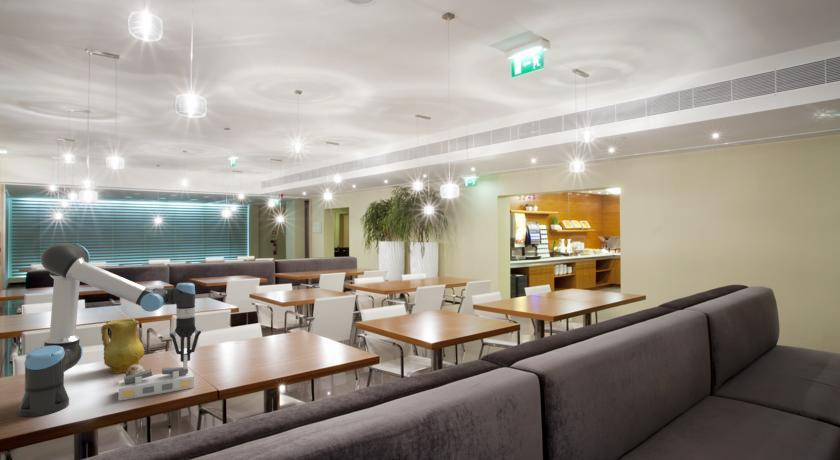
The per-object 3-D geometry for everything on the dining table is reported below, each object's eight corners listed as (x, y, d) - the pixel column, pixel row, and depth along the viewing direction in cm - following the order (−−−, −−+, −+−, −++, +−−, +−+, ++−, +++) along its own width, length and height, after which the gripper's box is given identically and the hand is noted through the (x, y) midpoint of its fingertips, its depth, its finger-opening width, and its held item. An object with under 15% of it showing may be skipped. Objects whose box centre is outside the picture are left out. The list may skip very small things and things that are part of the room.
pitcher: (113, 376, 208) (114, 323, 210) (95, 371, 218) (96, 321, 219) (150, 368, 223) (151, 318, 224) (132, 363, 233) (133, 316, 234)
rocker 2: (162, 374, 192) (163, 370, 192) (161, 371, 197) (162, 367, 197) (187, 373, 198) (188, 369, 198) (186, 370, 202) (186, 366, 202)
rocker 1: (124, 384, 184) (124, 380, 184) (124, 380, 189) (124, 376, 189) (152, 376, 190) (151, 372, 190) (151, 372, 194) (150, 368, 194)
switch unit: (118, 401, 180) (118, 382, 180) (118, 391, 190) (118, 373, 190) (194, 387, 196) (194, 370, 196) (190, 379, 206) (190, 363, 206)
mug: (144, 383, 202) (132, 365, 201) (131, 390, 205) (119, 372, 204) (157, 374, 209) (145, 357, 208) (144, 380, 212) (133, 363, 211)
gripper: (170, 319, 193) (169, 373, 193) (202, 316, 200) (202, 368, 200) (168, 317, 199) (168, 368, 199) (200, 314, 206) (199, 363, 206)
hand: (185, 368), depth 200 cm, fingers closed
